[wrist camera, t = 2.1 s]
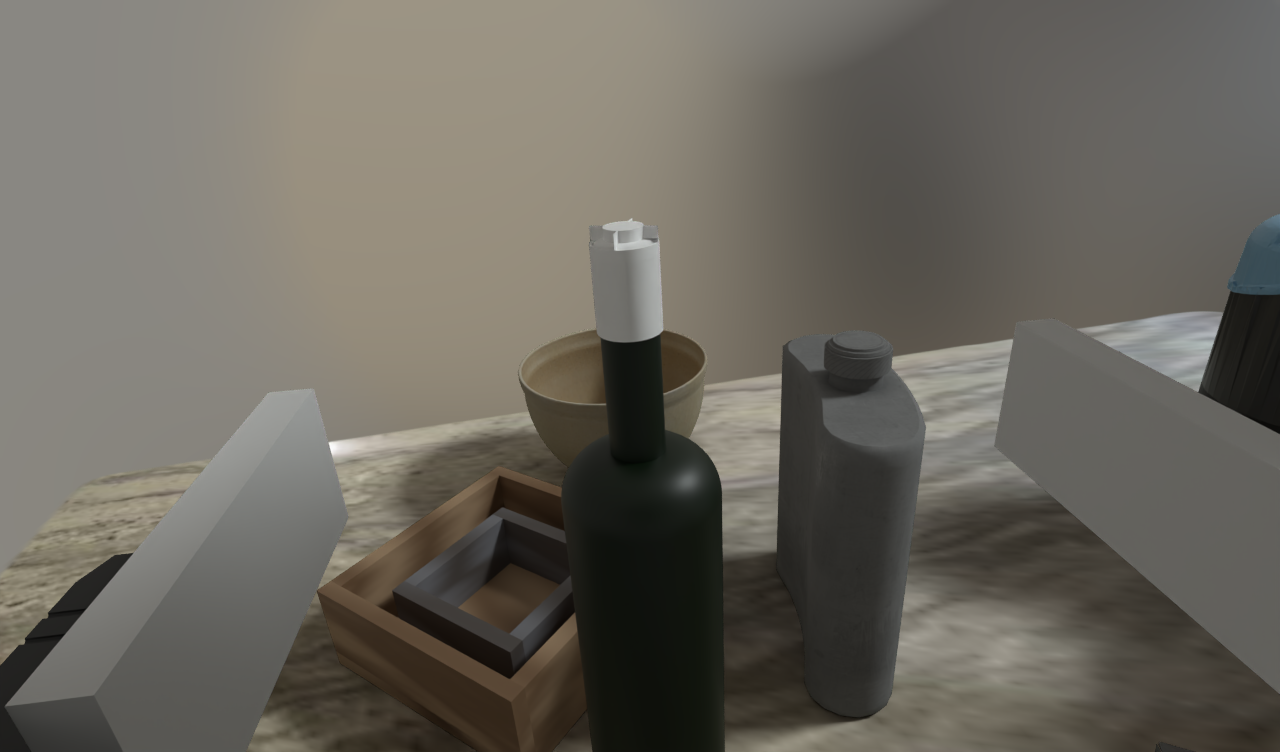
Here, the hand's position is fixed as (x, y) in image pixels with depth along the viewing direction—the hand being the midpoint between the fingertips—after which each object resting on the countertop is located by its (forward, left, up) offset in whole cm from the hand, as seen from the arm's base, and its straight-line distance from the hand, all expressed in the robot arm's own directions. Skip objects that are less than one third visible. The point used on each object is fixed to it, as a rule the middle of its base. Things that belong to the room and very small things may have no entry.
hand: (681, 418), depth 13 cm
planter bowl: (-34, -27, -29) cm, 52 cm away
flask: (-25, -4, -29) cm, 38 cm away
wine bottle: (-7, -6, -29) cm, 30 cm away
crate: (-14, -22, -28) cm, 39 cm away
